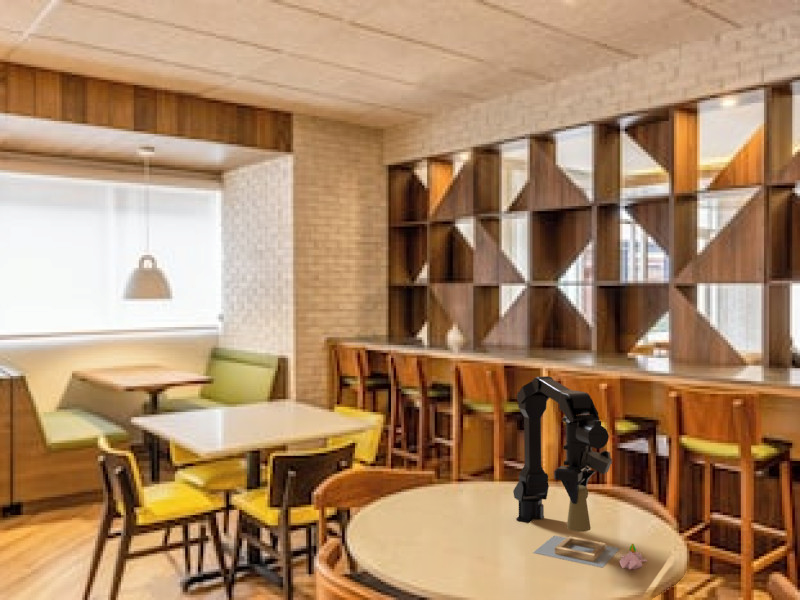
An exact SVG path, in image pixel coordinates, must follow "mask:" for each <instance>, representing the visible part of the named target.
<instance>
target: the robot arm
mask: <svg viewBox="0 0 800 600" xmlns="http://www.w3.org/2000/svg"><path fill="white" fill-rule="evenodd" d="M549 399H551V400H553V401H554V402H556V403H557V404H558V405H559V407H558V409H559V410H560V411H561V412H562V413H563V414H564V416H563V417H562V419H561V420H562V422H564V423H565V444H564V445H563V450H564V451H565V460H564V461H563V465H560V466H559V467H557V468H556V469H555V470H554V472H553V475H554V476H553V477H554V478H553V479H554V480H557V481H558V480H559V481H561V483H562V486H563V487H564V489H565V491H566V493H567V495H568V497H569V500H570V499H571V502H572V503H573V504H577V499H578V492H579V485H583V486H585V487H587V486H588V483H589V479H590V478H591V477H592V476H593V475H594V474H595V473H596V472H598V473H599V474H602V475H605V474H606V473H608V472H609V470H610V468H611V465H612V464H613V458H612V457H611V452H610V451H607V450H605V449H604V450H603V451H602V452H597V451H594V450H593V449H603V448H604V447H605V446H606V445H607V444H608V442H609V440H610V439H609V438H610V436H609V433H608V430H607V428H605V427H604V426H602V421H601V420H600V416H599V411H598V410H597V408H596V406H595V404H594V401H593V398H592V397H591V395H590V394H589V393H588V392H585V391H581V390H573V389H570V388H568V387H566V386H565V385H563V384H561V383H560V382H558V381H556V380H554V379H553V377H551V376H549V375H548V376H544V375H543V376H536V377H534V378H533V379H532V380H531V381H530V382H528V383H526V384H524V385H523V386H521V388H520V389H519V391H518V392H517V394H516V400H517V402H518V409H519V411H520V413H521V415H523V423H524V424H523V425H524V427H523V428H524V429H523V431H524V434H523V436H524V439H523V440H524V442H523V443H524V466H523V468H522V469H521V471H520V472H519V475H518V482H517V483H516V485H515V487H514V489H513V490H512V492H513V498H514V499H515V500H517V501H518V516H517V517H516V519H515V520H516V521H519V522H520V521H521V522H525V523H531V522H532V521H534V520H542V519H545V515H544V513H545V512H544V505H545V504H543V500H547V497H548V493H549V488H550V485H549V474H548V473H546V472H545V470H544V469H543V467H542V417H543V415H544V413H545V412H546V409H547V402H548V401H549ZM592 469H593V470H592Z"/></svg>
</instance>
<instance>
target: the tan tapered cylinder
mask: <svg viewBox="0 0 800 600" xmlns="http://www.w3.org/2000/svg"><path fill="white" fill-rule="evenodd" d="M587 498H589V489H588V488H587V487H585V486H583V485H579V492H578V499H577V504H573V503H572V502H571V499H570V498H569V504H568V515H567V522H566V523H567V524H566V528H567V530H570V531H572V532H581V533H582V532H588V531H590V530H591V528H592V527H591V520H590V516H589V507H588V502H587Z"/></svg>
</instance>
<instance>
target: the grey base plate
mask: <svg viewBox="0 0 800 600" xmlns="http://www.w3.org/2000/svg"><path fill="white" fill-rule="evenodd" d="M566 538H567V537H563V536H558V535H552V537H550V538H549V539H548V540H546V541H545V542H544V543H543V544H541V545H540V546H539V547H538V548H536V549H535V550H534V551H533V552H532V554H536V555H541V556H546V557H550V558H553V559H559V560H564V561H567V562H568V561H570V562H574V563H578V564H582V565H587V566H592V567H595V568H604V567H605V566H606V565H607V564H608V562H610V560H611V559H612V558H613V557H614V556H615V554H617V552H618V551H620V549H621V548H620V547H615V546H610V545H606V549H605V550H604V551H603V552H602V553H601V555H600V556H599V557H598V558H597V559H596V560H595V561H594V562H593V561H588V560H583V559H578V558H574V557H569V556H564V555H559V554H555V547H556V546H557V545H559V544H560V543H561V542H562V541H563V540H564V539H566ZM567 548H568V549H573V550H577V551H582V552H587V553H591V552H592V551H593V550H594V548H589V547H584V546H579V545H574V544H571V545H570V546H568V547H567Z"/></svg>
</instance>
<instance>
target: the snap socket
mask: <svg viewBox="0 0 800 600" xmlns="http://www.w3.org/2000/svg"><path fill="white" fill-rule="evenodd" d="M565 538H566V539H564V540H563V541H562V542H561V543H560V544H559V545H557V546H556V547H555V554H559V555H564V556H569V557H574V558H578V559H583V560H588V561H593V562H594V561H595V560H596V559H597V558H598V557H599V556H600V555H601V553H602V552H603V551H604V550H605V549H606V546H607V544H606V542H601V541H595V540H592V539H591V540H590V539H586V538H580V537H577V536H576V537H574V536H570V535H568V536H567V537H565ZM571 544H574V545H579V546H584V547H589V548H594V550H593V551H592V552H591V553H587V552H582V551H577V550H573V549H568V548H567V547H568V546H570V545H571Z"/></svg>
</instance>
